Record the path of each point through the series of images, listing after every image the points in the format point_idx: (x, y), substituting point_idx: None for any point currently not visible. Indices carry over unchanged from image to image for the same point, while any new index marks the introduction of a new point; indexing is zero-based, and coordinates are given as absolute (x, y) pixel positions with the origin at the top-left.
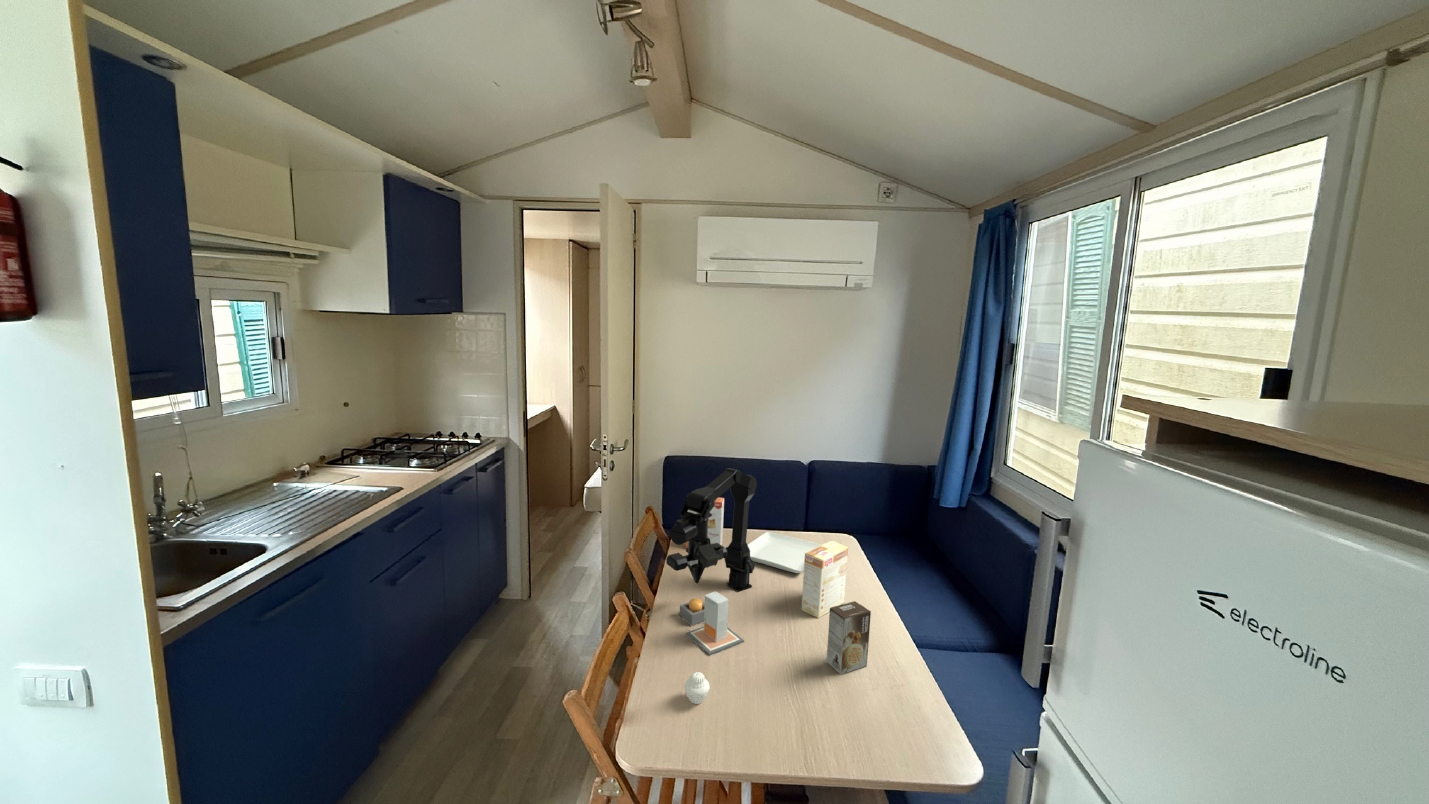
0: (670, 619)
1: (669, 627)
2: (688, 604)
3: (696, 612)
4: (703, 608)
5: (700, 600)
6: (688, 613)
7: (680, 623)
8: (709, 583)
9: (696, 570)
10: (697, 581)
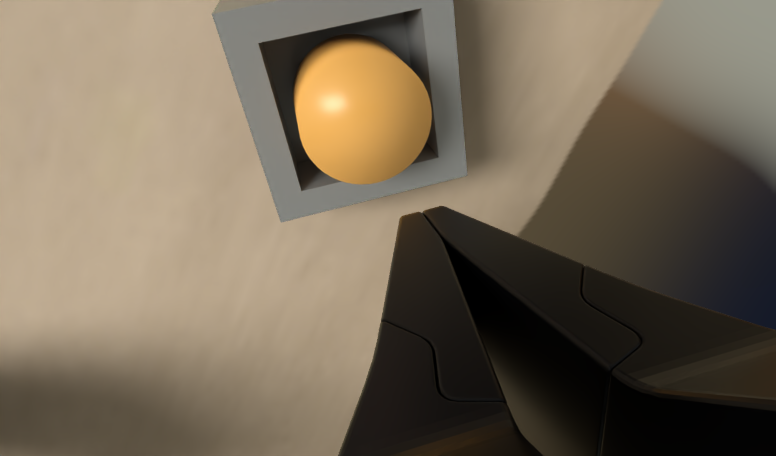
0: (514, 114)
1: (571, 14)
2: None
3: (389, 4)
4: (275, 96)
5: (311, 132)
6: (452, 35)
7: (478, 38)
8: (104, 444)
9: (663, 335)
10: (436, 219)
